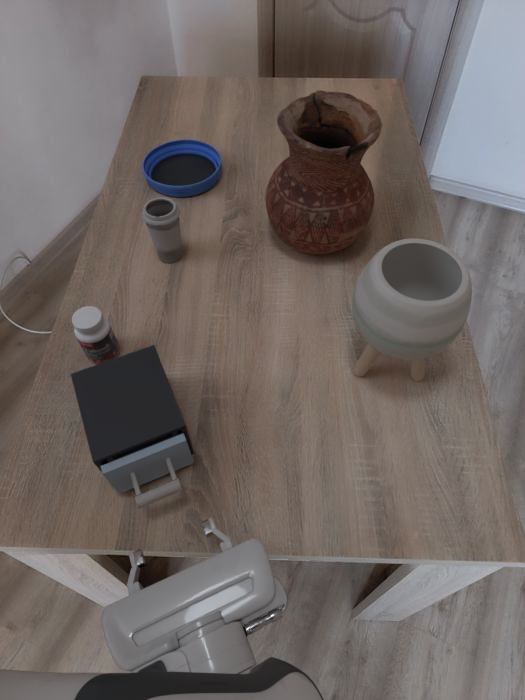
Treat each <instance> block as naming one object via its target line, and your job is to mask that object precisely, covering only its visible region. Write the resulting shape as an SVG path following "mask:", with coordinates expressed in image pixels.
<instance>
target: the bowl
mask: <svg viewBox="0 0 525 700" xmlns="http://www.w3.org/2000/svg"><path fill="white" fill-rule="evenodd" d="M222 162H223V160H222V156H221V154H220V152H219V151H218V150H217V148H215V146H213V145H211V144H209V143H207V142H205V141H202V140H196V139H189V138H186V139H175V140H171V141H167V142H164V143H162V144H160V145H158V146H155V147H154V148H152V149H151V150H149V152H148V153H147V154H146V155H145V157H144V159H143V161H142V172H143V176H144V177H145V179H146V180H147V182H148V184H149V186H151V188H152V189H153V190H155V191H156V192H158V193H159V194H162V195H165V196H168V197H173V198H188V197H193V196H197V195H200V194H202V193H204V192H206V191H208V190H209V189H211V188H212V187H213V186H214V185H215V184H216V183H217V182H218V181H219V178H220V174H221V171H222V165H223V164H222Z"/></svg>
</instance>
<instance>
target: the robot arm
mask: <svg viewBox="0 0 525 700" xmlns="http://www.w3.org/2000/svg"><path fill="white" fill-rule="evenodd" d="M201 525H202V527H203V530H204V533H205V535H206V538H209V537H212V536H213V537H215V539H217V540H218V541H219V542H220V543H219V546H220V549H221V552H219V553H218V554H215V555H213V556H210V557H209V558H207V559H204V560H202V561H200V562H198V563H195V564H194V565H191V566H189V567H187V568H185V569H183V570H180V571H178V572H176V573H174V574H172V575H170V576H168V577H166V578H164V579H161V580H159V581H156V582H155V583H153V584H151V585H148V586H146V587H143V584H142V583H141V582H140V581H139V578H140V573H141V569H142V568H144V567H146V566H147V565H148V564H147V560H146V559H145V554H144V551H143V550H142V549H141V548H139V549H137V550H135V551H133V552H130V553H129V554H128V557H129V561H130V565H131V568H130V571H129V576H128V578H127V579H128V580H127V583H126V589H127V592H128V593H127V594H128V595H127V596H124V597H123V598H121V599H119V600H115V601H114V602H112V603H110V604H108V605H106V606H104V608H103V611H102V614H101V616H100V625H101V629H102V632H103V635H104V638H105V639H104V640H105V642H106V645H107V648H108V650H109V652H110V653H109V654H110V655H111V657H112V660H113V662H114V663H115V665H116V666H117V667H118V668H119V669H120V670H122V671H124V672H57V671H56V672H55V671H54V672H53V671H52V672H51V671H50V672H49V671H47V672H46V671H33V670H20V669H4V668H0V700H324V698H323V695H322V692H321V691H320V690H319V688H318V686H317V685H316V684H315V682H314V681H313V679H311V677H310V676H309V675H308V674H307V673H305V672H304V671H302V670H301V669H300V668H298V667H297V666H296V665H293V664H291V663H289V662H288V661H285V660H283V659H279V658H277V657H274V656H270V657H268V658H266V659H264V660H263V661H262V662H260V663H257V660H256V658H255V655H254V653H253V650H252V647H251V645H250V641H249V639H248V636H251V634H253V633H255V632H257V631H259V630H261V629H262V628H264V627H266V626H267V625H269V624H271V623H275V622H277V621H279V620H280V619H281V618H282V616H283V615H282V614H284V612H285V611H286V609H287V607H288V602H289V597H288V594H287V591H286V589H285V587H284V584H283V583H282V581H281V580H280V579H279V578H278V577H277V576H275V575H274V573H273V569H272V566H271V563H270V559H269V555H268V553H267V550H266V548H265V545H264V543H263V541H261V540H260V539H258V538H256V537H252V538H249V539H246V540H245V541H243V542H241V543H238V544H235V545H233V543H232V541H231V538H230V537H228V536H227V535H226V534H225V533H223V532H222V531H221V530H219V529H218V528H217V527H216V524H215V521H214V518H213V517H212V516H211V517H209V518H206V519H205V520H202V521H201ZM279 608H281V609H279Z"/></svg>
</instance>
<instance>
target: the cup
mask: <svg viewBox="0 0 525 700" xmlns="http://www.w3.org/2000/svg"><path fill="white" fill-rule="evenodd" d="M180 215H181V209H180V207H179V205H178V204H176V202H175V201H174V200H173V199H171V198H169V197H167V196H164V197H163V196H158V197H154V198H151V199H149V200H148V201H146V202H145V203H144V205H143V208H142V210H141V219H142V220H143V221H144V222H145V224H146V227H147V230H148V233H149V235H150V239H151V241H152V244H153V246H154V249H155V250H156V253H157V255H158V258H159V260H160V261H161V262H162V263H165V264H174V263H177V262H178V261H180V260H181V258H182V257H183V250H182V232H181V222H180Z"/></svg>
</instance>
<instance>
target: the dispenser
mask: <svg viewBox="0 0 525 700" xmlns="http://www.w3.org/2000/svg"><path fill="white" fill-rule="evenodd" d="M70 377H71V381H72V384H73V389H74V394H75V397H76V401H77V404H78V405H77V406H78V409H79V412H80V418H81V421H82V425H83V429H84V432H85V433H84V434H85V436H86V437H85V438H86V440H87V445H88V448H89V452H90V456H91V460H92V463H93V464H94V465H95V467H96V468H97V469H98V470H99V472H101V473H102V470H101V466H102V465H105V464H107V463H109V462H108V461H107V459H108V458H111V457H113V456H116V455H118V454H121V453H123V452H126V451H128V450H131V449H134V448H136V447H139V446H141V445H144V444H146V443H149V442H151V441H154V440H156V439H159V438H161V437H164V436H166V435H169V434H171V433H174V432H176V431H177V432H178V435H180V434H182V433H184V436H185V438H186V441H187V444H188V447H189V450H190V453H191V456H193V455H196V453H195V450H194V447H193V444H192V441H191V437H190V434H189V432H188V428H187V426H186V422H185V420H184V418H183V415H182V412H181V410H180V407H179V405H178V402H177V399H176V397H175V394H174V391H173V389H172V386H171V384H170V382H169V379H168V377H167V374H166V370H165V368H164V366H163V363H162V361H161V358H160V356H159V353H158V351H157V348H156V345H155V344H152V345H149V346H146V347H144V348H140V349H137V350H135V351H132V352H129V353H127V354H124V355H120V356H117V357H116V358H115V359H112V360H109V361H106V362H103V363H100V364H95V365H92V366H89V367H86V368H83V369H80V370H77V371H75V372H72V373H70Z"/></svg>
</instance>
